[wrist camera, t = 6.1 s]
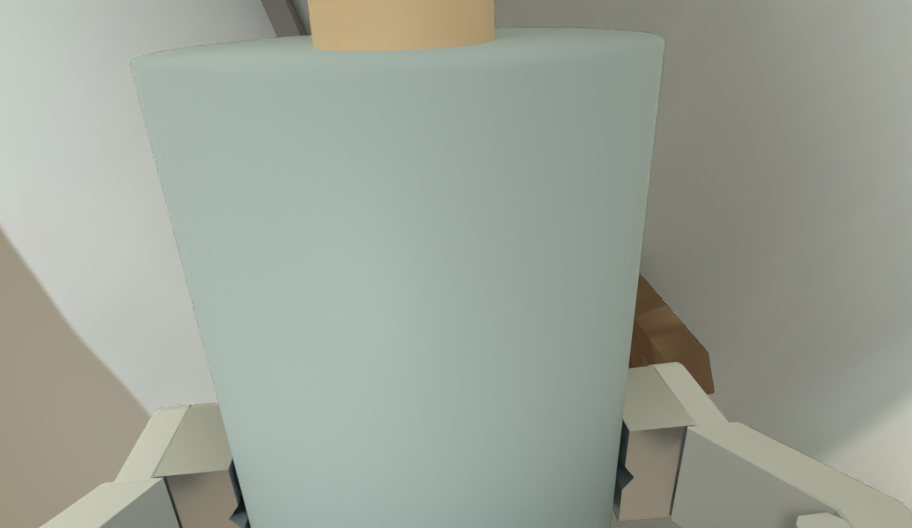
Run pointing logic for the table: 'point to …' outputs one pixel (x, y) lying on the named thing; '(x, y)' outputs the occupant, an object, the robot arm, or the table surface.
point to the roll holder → (665, 338)
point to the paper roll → (413, 258)
